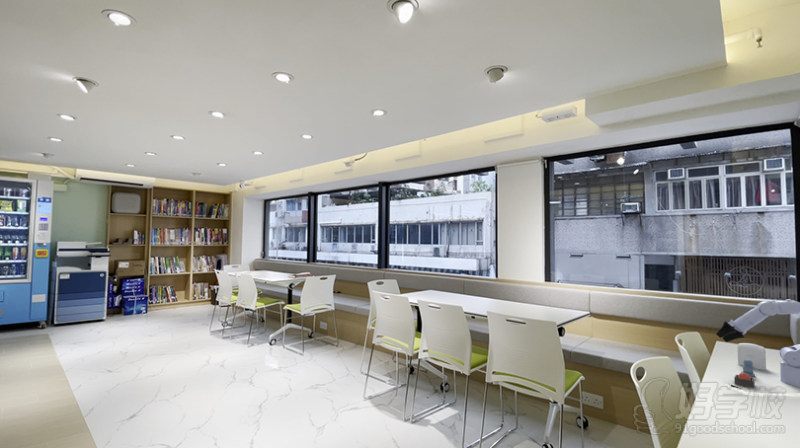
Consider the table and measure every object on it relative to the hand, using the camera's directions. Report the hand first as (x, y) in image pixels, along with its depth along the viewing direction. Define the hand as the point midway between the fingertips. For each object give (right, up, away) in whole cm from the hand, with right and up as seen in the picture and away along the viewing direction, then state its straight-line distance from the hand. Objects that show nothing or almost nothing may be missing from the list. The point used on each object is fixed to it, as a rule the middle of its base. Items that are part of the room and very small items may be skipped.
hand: (721, 338), depth 177 cm
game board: (0, -16, -13) cm, 20 cm away
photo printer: (+21, -18, +7) cm, 29 cm away
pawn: (+7, -15, -6) cm, 18 cm away
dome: (-6, -13, -19) cm, 24 cm away
